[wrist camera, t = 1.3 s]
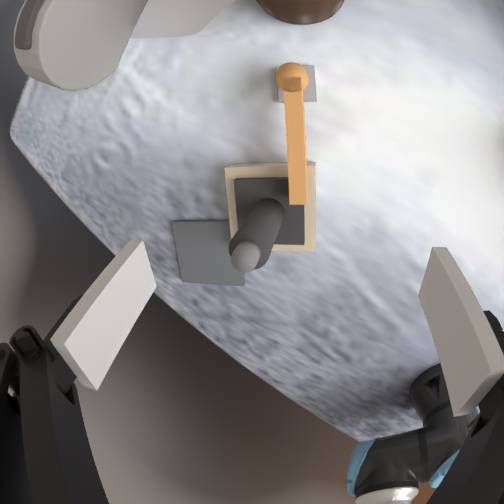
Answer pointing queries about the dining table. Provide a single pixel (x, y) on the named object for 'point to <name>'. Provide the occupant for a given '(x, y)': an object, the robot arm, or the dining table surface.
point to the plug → (264, 221)
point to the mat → (205, 252)
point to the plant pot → (301, 10)
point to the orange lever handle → (295, 128)
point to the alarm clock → (73, 39)
